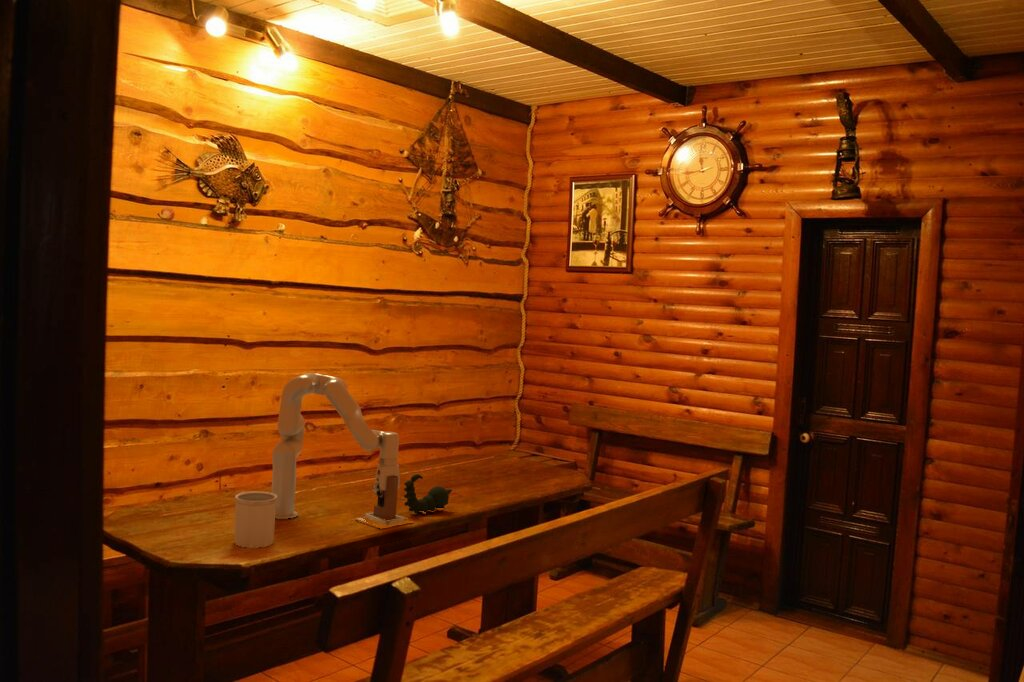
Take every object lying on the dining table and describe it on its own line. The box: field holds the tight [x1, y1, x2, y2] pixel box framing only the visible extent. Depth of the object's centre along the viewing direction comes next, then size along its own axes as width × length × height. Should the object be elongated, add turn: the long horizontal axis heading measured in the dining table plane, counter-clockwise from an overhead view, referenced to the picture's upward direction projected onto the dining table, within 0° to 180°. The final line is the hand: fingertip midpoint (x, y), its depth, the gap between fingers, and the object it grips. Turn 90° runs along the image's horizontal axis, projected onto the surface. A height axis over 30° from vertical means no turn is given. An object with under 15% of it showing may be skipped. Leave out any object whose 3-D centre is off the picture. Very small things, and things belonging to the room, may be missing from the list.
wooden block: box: [373, 476, 399, 520], centre depth 352 cm, size 9×4×18 cm, turn 52°
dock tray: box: [355, 511, 407, 526], centre depth 353 cm, size 18×16×2 cm
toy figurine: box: [403, 473, 453, 514], centre depth 373 cm, size 9×19×25 cm
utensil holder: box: [234, 490, 277, 549], centre depth 311 cm, size 15×15×18 cm
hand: (385, 504), depth 353 cm, fingers closed on wooden block, 4 cm apart
